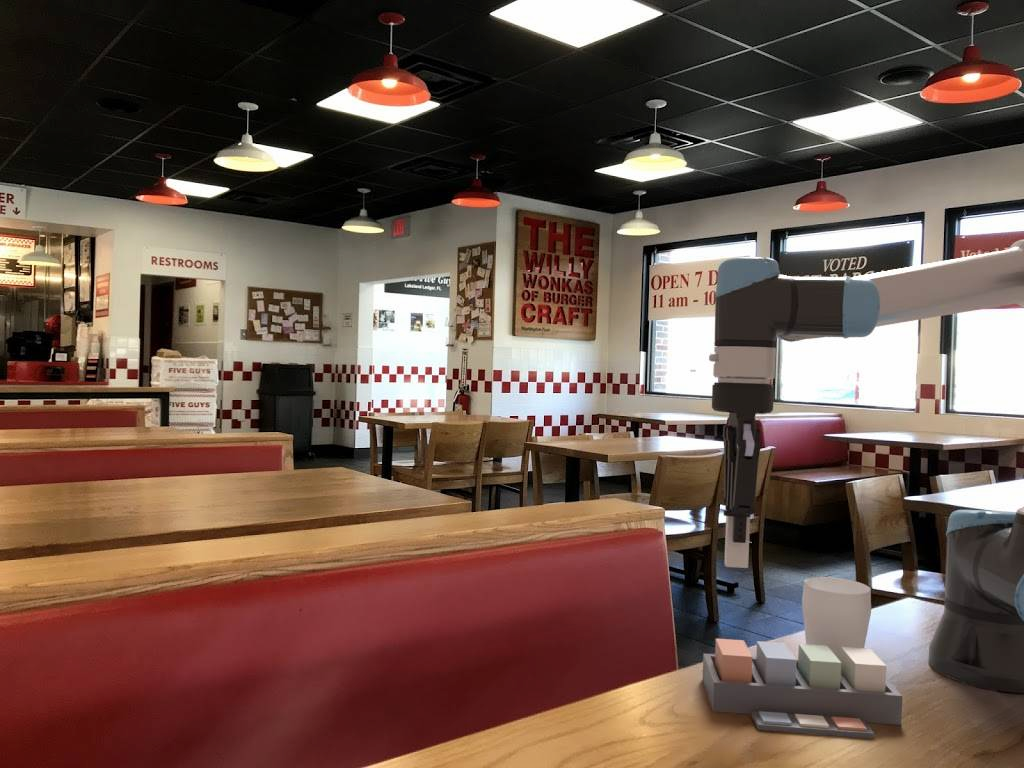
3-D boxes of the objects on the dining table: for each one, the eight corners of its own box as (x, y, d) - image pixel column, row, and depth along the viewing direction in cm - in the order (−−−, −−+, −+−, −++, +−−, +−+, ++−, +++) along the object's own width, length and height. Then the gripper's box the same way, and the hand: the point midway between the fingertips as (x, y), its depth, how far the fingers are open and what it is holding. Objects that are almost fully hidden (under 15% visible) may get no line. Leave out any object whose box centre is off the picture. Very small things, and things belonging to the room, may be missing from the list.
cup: (875, 685, 107) (879, 596, 107) (804, 678, 109) (808, 591, 109) (860, 661, 116) (863, 579, 116) (795, 655, 118) (798, 574, 117)
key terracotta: (742, 666, 105) (743, 640, 105) (751, 684, 99) (752, 656, 99) (714, 664, 105) (715, 638, 105) (721, 682, 99) (722, 654, 99)
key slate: (784, 669, 104) (785, 643, 104) (795, 687, 98) (796, 659, 98) (756, 667, 105) (757, 641, 105) (765, 685, 99) (766, 657, 99)
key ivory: (868, 675, 103) (869, 648, 103) (885, 694, 97) (886, 665, 97) (839, 673, 104) (840, 646, 103) (854, 692, 98) (855, 663, 97)
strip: (863, 724, 95) (864, 717, 95) (874, 738, 91) (874, 730, 91) (751, 716, 96) (752, 708, 96) (757, 729, 93) (757, 722, 93)
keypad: (872, 691, 105) (873, 664, 105) (901, 725, 95) (902, 696, 95) (702, 679, 107) (703, 653, 107) (712, 711, 98) (714, 682, 97)
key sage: (826, 672, 104) (827, 645, 104) (840, 691, 98) (841, 662, 98) (797, 670, 104) (798, 643, 104) (809, 688, 98) (810, 660, 98)
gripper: (706, 379, 108) (699, 552, 109) (720, 381, 95) (713, 577, 96) (763, 381, 107) (756, 555, 108) (785, 383, 94) (777, 581, 95)
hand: (736, 565), depth 102 cm, fingers closed
